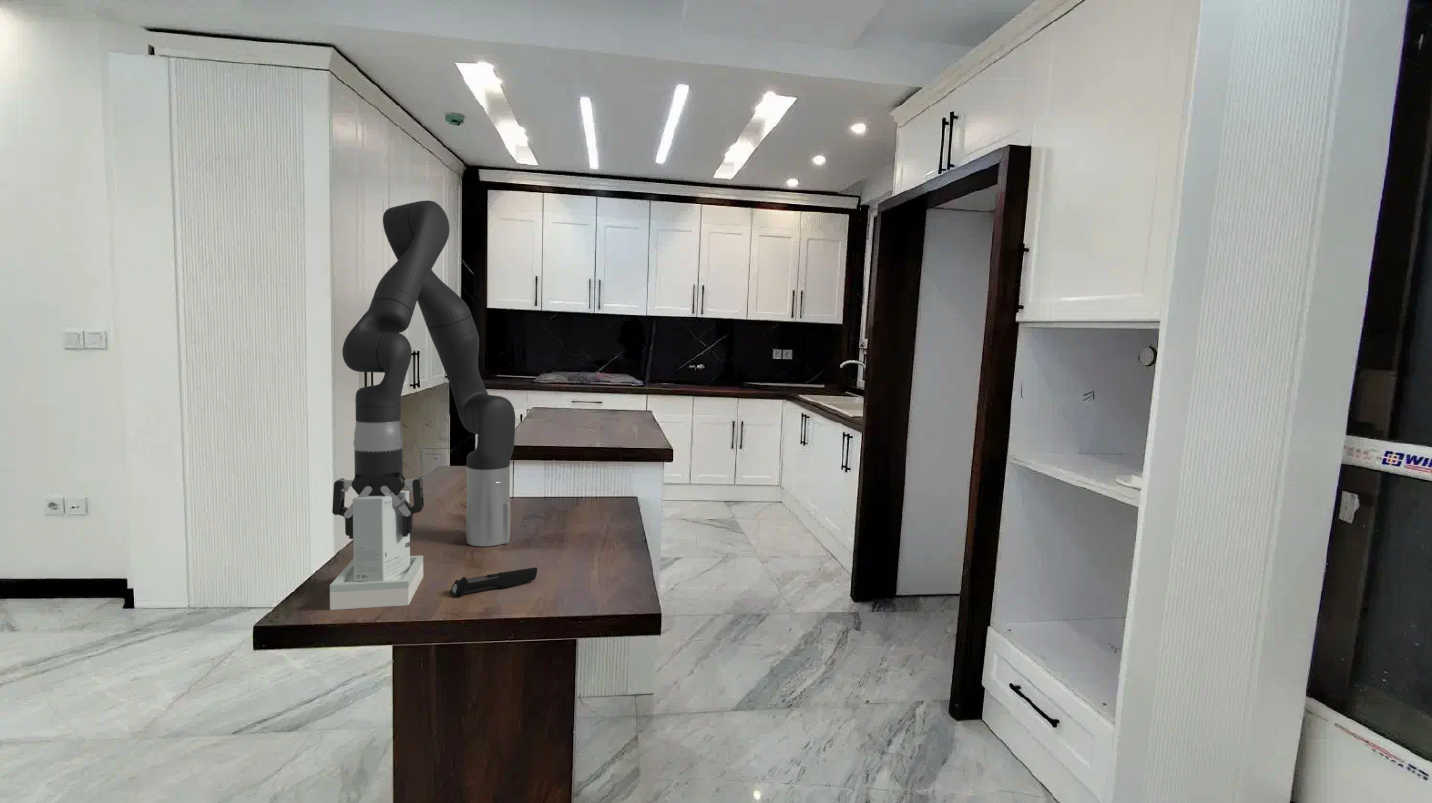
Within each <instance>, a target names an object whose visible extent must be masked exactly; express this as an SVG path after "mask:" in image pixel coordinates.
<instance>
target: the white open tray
mask: <svg viewBox="0 0 1432 803" xmlns="http://www.w3.org/2000/svg"><path fill="white" fill-rule="evenodd" d="M423 578H424V555H422V554H421V555H410V569H409V570H407V571H405V572H402V573H400V574H399V575H397V576H395V577H393V578H392V579H390V580H386V581H366V582H365V581H354V558H352V559H351V560H350V562H349V563H348V564H347V565H346V566H345V568H344V569H343V570H342V571H341V572H340V573H339V574H338V575H337V577H336V578H334V580H333V581H332V582H331V583H330V584H329V610H330V611H333V610H334V611H335V610H337V611H338V610H350V609H351V610H352V609H354V610H356V609H368V608H385V607H388V608H389V607H403V606H409V605H410V603H411V602H412V599H413V598H414V595H415V593H416V592H417V590H418V588H419V586H420V584H421V582H422V580H423Z"/></svg>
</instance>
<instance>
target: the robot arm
mask: <svg viewBox="0 0 1432 803" xmlns="http://www.w3.org/2000/svg"><path fill="white" fill-rule="evenodd" d="M382 225H383V226H382V227H383V230H384V234H385V237H386V239H387V241H388V244H389V245H390V248H391V249H392V252H393V254H394V256H395V258H396V259H397V261H396V262H395V263H394V264H393V265H392V266H391V267H390V268H389V269H388V270H387V271H386V272H385V273H384V275H383V276H382V277H381V279H380V280H379V282H378V284H377V286H376V288H375V290H374V293H373V296H372V299H371V301H370V305H369V306H368V307H369V308H368V309H367V311H366V312H365V313H364V314H363V315H361V316H362V317H361V318H360V319H359V320H358V322H356V323H355V325H354V326H353V327H352V329H351V330H349V333H348V334H347V336H346V338H345V340H344V342H343V346H342V352H341V353H342V359H343V361H344V363H345V365H346V366H347V367H348V369H350V370H351V371H354V372H359V373H379V374H381V373H382V374H384V375H383V378H382V380H381V381H380V382H379V384H376V385H375V384H374V385H369V386H363V387H360V388H359V389H357V391H356V393H355V399H354V400H355V426H354V435H353V448H354V449H353V450H354V451H353V452H354V456H353V457H354V478H353V479H345V478H342V477H341V478H338V479H337V480H336V481H334V483H333V491H332V493H333V494H332V509H331V510H332V511H331V512H332V514H333V515H334V516H342V517H343V518H344V522H345V524H344V530H345V532H344V533H345V535H346V536H348V539H349V540H353V502H352V503H351V504H350V506H349V507H346V506H345V498H346V493H347V492H349V490H350V487H351V488H352V489H353V490H354V491H355V493H356V494H357V495H358V496H357V497H367V496H380V495H385V496H390V497H391V496H392V503H393V504H394V506H395V507H396V508H398V509H399V510H400V511H401V512H402V513H403V515H404V516H403V517H402V536H403V537H407V536H408V535H409V533H410V534H411V532H412V531H413V529H414V526H413V524H414V518H413V517H414V516H413V515H414V514H418V513H421V511H422V510H423V509H424V507H425V503H424V502H425V500H424V489H423V488H424V487H423V479H422V477H421V476H417V477H415V478H407V479H406V478H405V477H404V474H403V427H402V422H401V420H402V418H401V417H402V416H401V415H402V414H401V412H402V411H401V403H402V402H401V400H402V399H401V398H402V393H403V389H404V388H403V387H404V385H405V379H406V377H407V373H408V370H409V366H410V363H411V361H412V360H411V359H412V354H413V353H412V345H411V343H410V341H409V339H408V338H407V337H406V336H405V335H404V334H402V333H403V332H405V331H406V330H407V329H408V328H409V326H410V324H411V321H412V318H413V315H414V311H415V308H416V306H417V304H418V306H419V308H420V312H421V315H422V317H423V321H424V324H425V326H426V327H427V330H428V331H427V332H429V336H430V338H431V340H432V343H433V345H434V347H435V349H436V351H437V354H438V357H439V359H440V362H441V364H442V367H443V370H444V372H445V375H446V378H447V380H448V382H449V385H450V388H451V391H452V392H451V393H452V397H453V398H454V403H455V406H456V410H457V414H458V416H459V419H460V423H461V425H462V426H463V427H464V429H466V431H468V432H469V433H470V434H471V433H472V434H474V435H477V444H476V447H475V450H472V451H471V452H469V453H468V454H467V456H466V520H465V521H466V525H465V526H466V531H465V532H466V544H468V545H470V546H474V547H475V546H476V547H494V546H500V545H505V544H509V543H510V538H511V495H510V494H511V493H510V490H511V489H510V488H511V486H510V485H511V484H510V483H511V482H510V481H511V458H512V455H513V453H514V449H515V435H516V412H515V407H514V405H513V403H512V402H511V401H510V400H509V399H508V398H506V397H504V396H500V395H493V394H489V393H488V391H487V389H486V387H485V384H484V382H483V380H482V377H481V374H480V369H479V353H480V336H479V332H478V329H477V327H476V323H475V320H474V317H473V315H472V312H471V310H470V307H469V306H468V305H467V303H466V302H465V300H464V299H463V298H461V297H460V296H459V294H457V293H456V291H454V290H452V289H451V287H449V286H448V285H447V284H446V283H445V282H444V281H443V280H441V278H439V277H438V276H437V274H436V273H435V271H433V268H434V266H435V263H436V262H437V260H438V258H439V257H440V255H441V253H442V251H443V250H444V248H445V246H446V244H447V242H448V240H449V236H450V222H449V219H448V215H447V213H446V211H445V210H444V209H443V208H442V206H441V205H440V204H438V203H437V202H435V201H434V200H433V201H432V200H430V199H429V200H419V201H413V202H409V203H405V204H401V205H400V204H399V205H397V206H392V207H389V208H387V209H386V210H385V212H384V213H383V215H382ZM406 486H407V488H408V491H409V492H412V494H413V495H412V496H413V498H412V499H413V505H411V504H410V502H409V503H408V502H407V501H406V498H405V497H403V496H402V498H401V499H399V498H398V497H397V495H398V494H399V493H401V492H400V491H403V489H404V488H405V487H406ZM395 500H396V501H395Z"/></svg>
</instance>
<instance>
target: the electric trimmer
mask: <svg viewBox="0 0 1432 803" xmlns="http://www.w3.org/2000/svg"><path fill="white" fill-rule="evenodd" d="M537 574H538V567H529V568H523V569H522V568H521V569H516V570H508V571H504V572H502V571H501V572H498V573H497V572H496V573H491V574H486V575H483V576H476V577H471V578H467V577H465V576H463V577H462V578H460V579H456V580H455V581H454V582H453V584H452V585H451V588H450V590H449V593H450V595H451V596H452V598H457V599H460V598H461V597H462V596H463V595H468V594H473V593H478V592H483V591H488V590H489V591H490V590H493V589H497V588H498V589H503V590H504V589H507V588H511V587H513V586H518V585H521V584H526V583H528V582H532V581H534V580H535V579H536V577H537Z"/></svg>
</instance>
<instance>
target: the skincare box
mask: <svg viewBox="0 0 1432 803" xmlns="http://www.w3.org/2000/svg"><path fill="white" fill-rule="evenodd" d="M400 492H401V493H399V494H398V495H397V497H398V498H399V499H401V498H402V496H403V497H405V498H406V501H407V502H408V503H409V504H410V490H401V491H400ZM395 501H396V500H395ZM352 503H353V539H352V541H353V542H352V543H353V544H352V545H353V546H352V548H353V555H352V556H353V559H354V581H365V582H366V581H386V580H390V579H392V578H393V577H395V576H397V575H399V574H400V573H402V572H405V571H407V570H409V569H410V556H411V539H410V538H411V536H410V535H411V533H409V535H408V536H407V537H403V536H402V517H403V516H404V515H403V513H402V512H401V511H400V510H399V509H398V508H396V507H395V506H394V504H393V503H392V496H391V497H390V496H385V495H380V496H367V497H358V496H356V497H353V498H352Z"/></svg>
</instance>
